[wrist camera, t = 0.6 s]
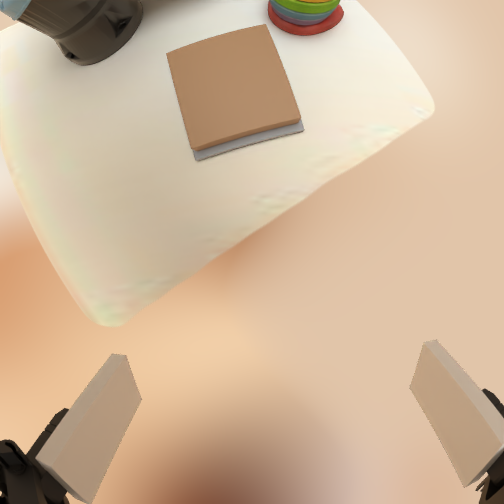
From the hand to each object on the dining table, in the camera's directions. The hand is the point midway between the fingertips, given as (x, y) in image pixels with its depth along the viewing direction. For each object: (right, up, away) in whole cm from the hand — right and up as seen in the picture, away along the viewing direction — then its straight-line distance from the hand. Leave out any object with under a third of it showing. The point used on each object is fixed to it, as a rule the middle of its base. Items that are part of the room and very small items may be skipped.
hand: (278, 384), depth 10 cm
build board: (-4, +26, +21) cm, 34 cm away
